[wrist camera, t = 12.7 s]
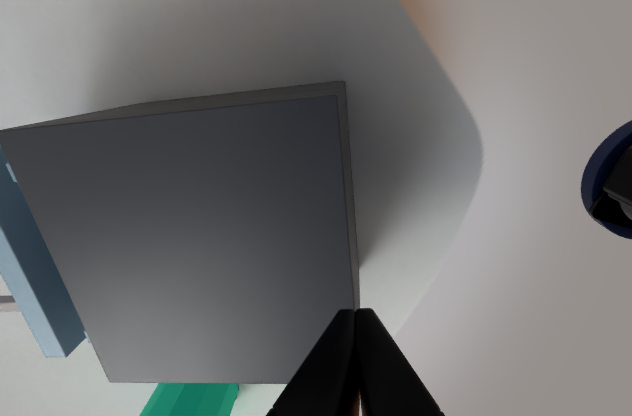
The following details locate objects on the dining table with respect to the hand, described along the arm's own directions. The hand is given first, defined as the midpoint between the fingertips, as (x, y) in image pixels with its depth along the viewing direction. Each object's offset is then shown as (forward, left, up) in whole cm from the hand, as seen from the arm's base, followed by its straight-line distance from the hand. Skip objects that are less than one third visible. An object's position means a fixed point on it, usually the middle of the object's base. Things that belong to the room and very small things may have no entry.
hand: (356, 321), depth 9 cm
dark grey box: (+5, +2, -12) cm, 13 cm away
